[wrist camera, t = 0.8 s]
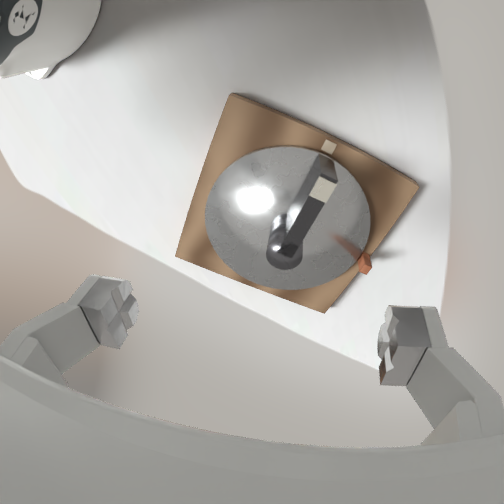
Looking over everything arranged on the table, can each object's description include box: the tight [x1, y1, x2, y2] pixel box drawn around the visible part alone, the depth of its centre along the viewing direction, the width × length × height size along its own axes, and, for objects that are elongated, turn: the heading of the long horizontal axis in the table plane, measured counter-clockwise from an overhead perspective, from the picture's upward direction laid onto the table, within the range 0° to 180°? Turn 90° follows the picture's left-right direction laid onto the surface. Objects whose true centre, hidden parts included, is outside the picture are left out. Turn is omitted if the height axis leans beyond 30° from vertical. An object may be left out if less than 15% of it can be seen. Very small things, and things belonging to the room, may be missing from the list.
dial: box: [205, 145, 370, 290], centre depth 34 cm, size 19×19×6 cm
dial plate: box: [175, 93, 419, 314], centre depth 36 cm, size 22×22×4 cm
